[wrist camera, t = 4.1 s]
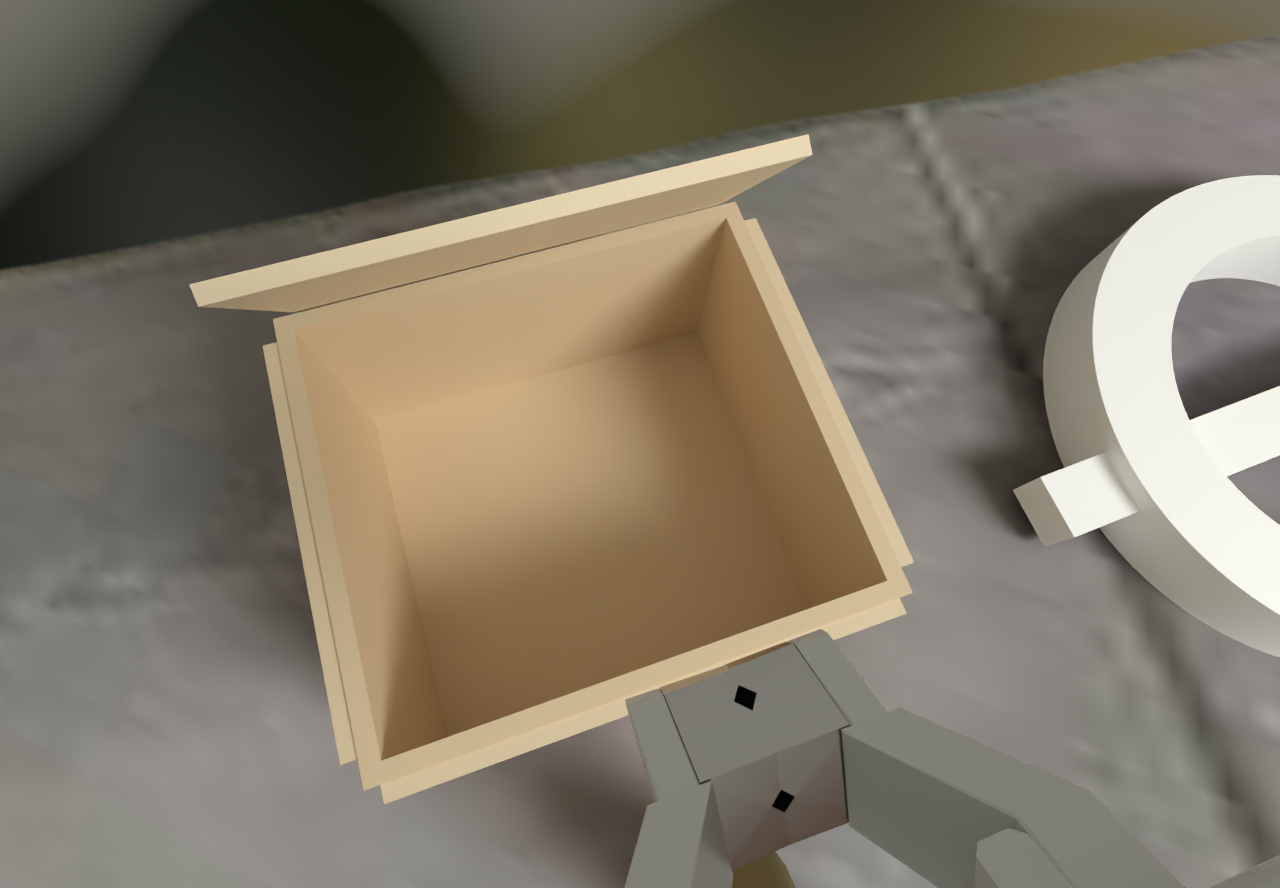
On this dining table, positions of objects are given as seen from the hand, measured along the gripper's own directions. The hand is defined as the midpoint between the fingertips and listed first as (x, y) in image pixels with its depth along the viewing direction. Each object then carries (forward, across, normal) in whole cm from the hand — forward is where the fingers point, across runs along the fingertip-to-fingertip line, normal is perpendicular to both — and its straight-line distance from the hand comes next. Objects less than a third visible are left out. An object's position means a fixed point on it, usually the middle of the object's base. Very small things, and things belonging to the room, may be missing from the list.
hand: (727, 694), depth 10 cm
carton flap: (+23, 0, -3) cm, 23 cm away
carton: (+25, 0, +12) cm, 27 cm away
